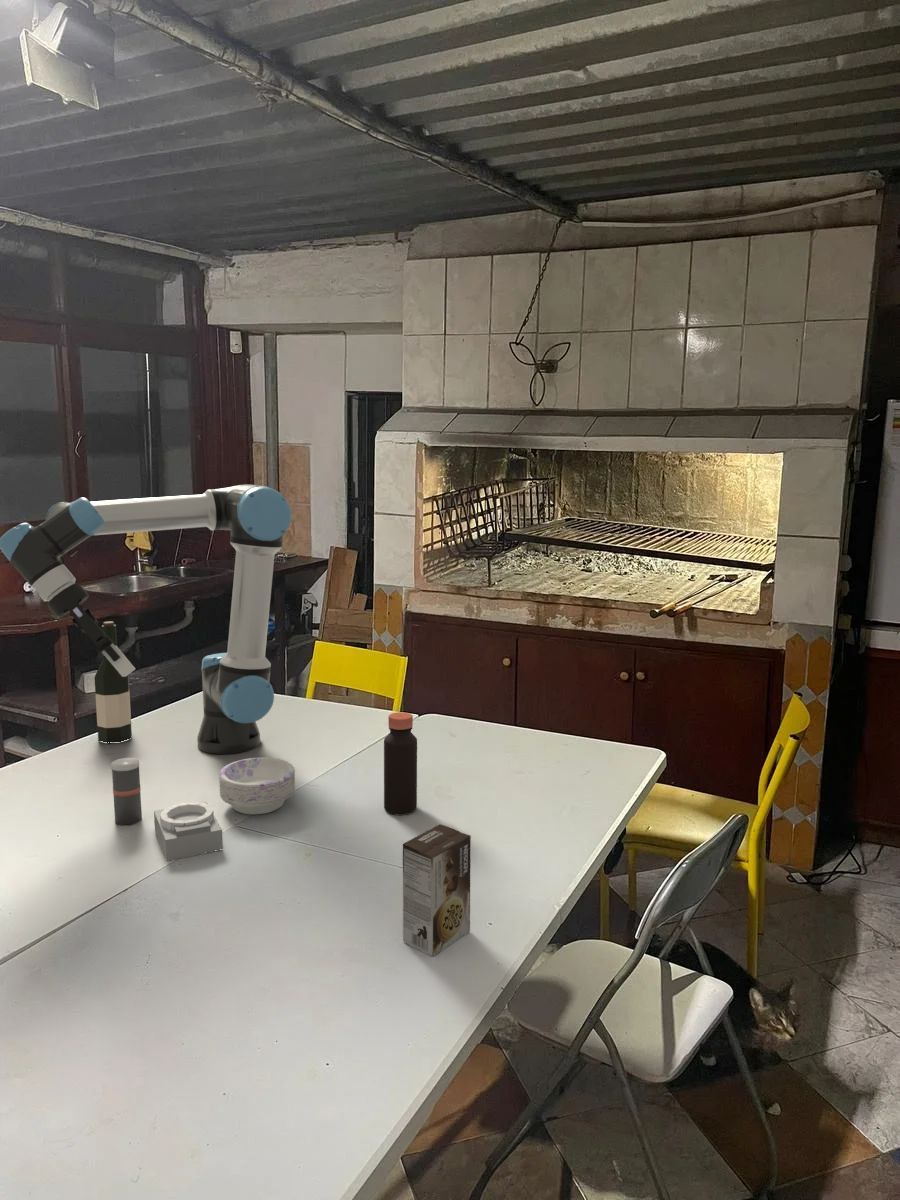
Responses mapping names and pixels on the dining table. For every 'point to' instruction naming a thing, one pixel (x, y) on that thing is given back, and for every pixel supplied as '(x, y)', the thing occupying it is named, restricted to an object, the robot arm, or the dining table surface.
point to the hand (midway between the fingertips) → (129, 673)
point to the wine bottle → (112, 698)
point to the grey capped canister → (126, 791)
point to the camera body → (187, 830)
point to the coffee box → (436, 889)
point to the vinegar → (400, 765)
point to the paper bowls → (257, 784)
